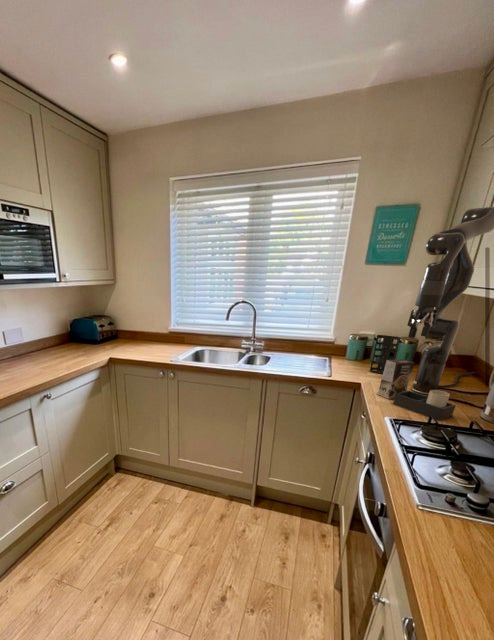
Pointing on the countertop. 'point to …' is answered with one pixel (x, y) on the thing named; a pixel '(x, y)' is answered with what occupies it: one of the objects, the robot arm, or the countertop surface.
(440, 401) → the cup
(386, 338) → the holder
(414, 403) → the cup holder
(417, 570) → the countertop surface
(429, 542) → the countertop surface
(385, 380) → the coffee box
